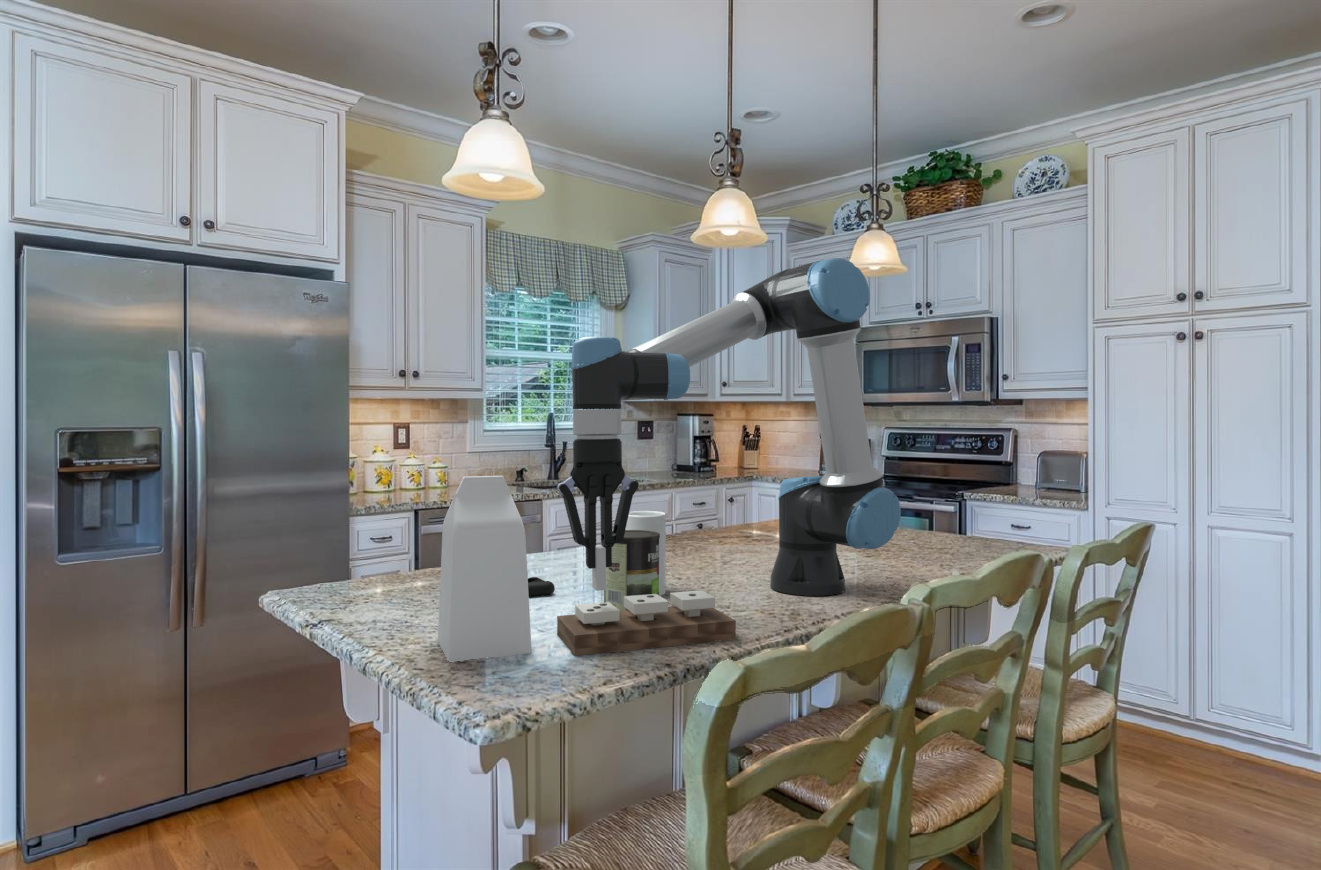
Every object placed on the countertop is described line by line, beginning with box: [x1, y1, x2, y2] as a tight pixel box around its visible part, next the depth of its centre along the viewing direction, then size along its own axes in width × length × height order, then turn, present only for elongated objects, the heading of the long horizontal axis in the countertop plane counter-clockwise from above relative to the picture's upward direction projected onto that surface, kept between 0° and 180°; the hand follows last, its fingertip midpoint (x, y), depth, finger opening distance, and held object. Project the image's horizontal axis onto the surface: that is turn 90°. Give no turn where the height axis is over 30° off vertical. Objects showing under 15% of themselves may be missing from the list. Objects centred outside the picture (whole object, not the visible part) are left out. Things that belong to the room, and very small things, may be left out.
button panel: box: [556, 605, 737, 657], centre depth 123 cm, size 26×12×3 cm, turn 110°
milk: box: [437, 475, 533, 663], centre depth 117 cm, size 12×12×26 cm
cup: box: [625, 510, 667, 597], centre depth 155 cm, size 8×8×16 cm
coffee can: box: [603, 530, 660, 611], centre depth 140 cm, size 10×10×14 cm
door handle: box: [528, 576, 556, 598], centre depth 155 cm, size 3×20×16 cm
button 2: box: [624, 594, 669, 621], centre depth 123 cm, size 6×6×4 cm
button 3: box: [574, 602, 619, 626], centre depth 120 cm, size 6×6×4 cm
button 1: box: [669, 589, 716, 617], centre depth 126 cm, size 6×6×4 cm
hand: (599, 588), depth 121 cm, fingers closed
